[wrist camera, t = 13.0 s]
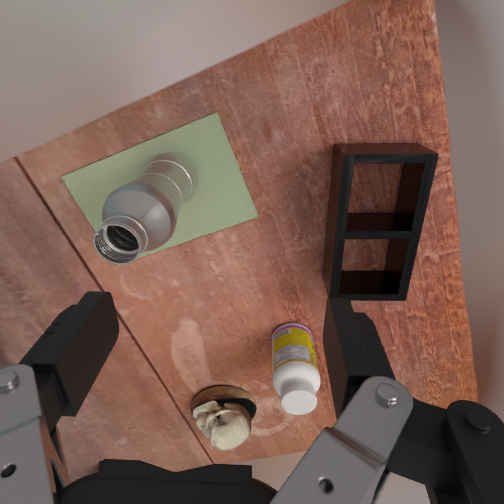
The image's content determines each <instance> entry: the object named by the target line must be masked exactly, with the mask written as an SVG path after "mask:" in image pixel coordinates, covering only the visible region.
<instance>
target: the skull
mask: <svg viewBox="0 0 504 504" xmlns="http://www.w3.org/2000/svg"><path fill="white" fill-rule="evenodd" d="M191 412H192V415H193V417H194V418H195V420H196V424H197V427H198V428H199V429H200V430H201V432H203V433H204V435H205V437H208V438H210V443H211V445H212V446H214V447H215V448H218V449H220V450H231V449H233V448H236V447H237V446H239V445H241V444H242V443H243V442H244V441H245V440H246V439H247V438H248V436H249V434H250V431H251V420H252V419H253V417H254V416H255V413H256V403H255V401H254V399H253V398H252V396H250V395H249V394H248V393H247V392H245V391H243V390H241V389H239V388H235V387H230V386H229V387H228V386H219V387H213V388H209V389H206V390H205V391H202V392H201V393H200V394H198V395H197V396H196V397H195V399H194V400H193V402H192V405H191Z"/></svg>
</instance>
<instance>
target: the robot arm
mask: <svg viewBox="0 0 504 504" xmlns="http://www.w3.org/2000/svg"><path fill="white" fill-rule="evenodd" d="M118 334H119V323H118V319H117V314H116V310H115V306H114V302H113V298H112V295H111V293H110V292H92V291H89V292H87V293H86V294H85V295H84V296H83V297H82V299H81V300H80V301H79V302H78V304H77V305H71V306H70V307H68V308H67V309H65V310H64V311H63V312H61V313H60V314H59V315H58V316H57V317H56V319H55V320H54V321H53V322H52V323H51V326H49V327H48V328H47V330H46V331H45V333H44V334H42V336H41V337H40V338H39V339H38V341H37V342H36V343H35V344H34V345H33V347H32V348H31V349H30V350H29V351H28V353H27V354H26V355H25V356H24V358H23V359H22V360H21V361H20V362H19V364H16V365H11V366H7V367H5V368H2V369H0V504H376V503H377V501H378V499H379V496H380V495H381V492H382V490H383V488H384V486H385V484H386V481H387V480H388V478H389V476H390V474H391V472H392V473H395V474H398V475H400V476H403V477H406V478H408V479H411V480H414V481H416V482H419V483H422V484H424V485H425V487H426V490H427V493H428V497H429V499H430V503H431V504H504V423H503V422H502V420H501V419H500V418H499V417H498V416H497V415H496V414H495V413H493V412H492V411H491V410H489V409H488V408H486V407H485V406H482V405H480V404H478V403H476V402H472V401H467V400H459V401H455V402H453V403H451V404H450V405H449V406H448V408H447V409H444V408H441V407H437V406H434V405H431V404H427V403H424V402H421V401H419V400H417V399H415V398H413V397H412V396H411V394H410V392H409V391H408V390H407V388H406V387H405V386H404V385H402V384H401V383H400V382H398V381H396V379H395V376H394V374H393V371H392V369H391V366H390V363H389V361H388V358H387V356H386V353H385V350H384V348H383V345H382V344H381V340H380V337H379V336H378V332H377V330H376V327H375V324H374V322H373V321H372V320H371V319H370V318H369V317H368V316H367V315H366V314H365V313H359V312H354V311H353V308H352V305H351V302H350V299H349V298H328V299H327V304H326V312H325V320H324V329H323V346H324V352H325V357H326V363H327V368H328V374H329V379H330V385H331V390H332V396H333V401H334V407H335V412H336V418H337V421H336V423H335V424H334V425H333V427H332V428H329V427H325V428H324V429H323V430H322V431H321V432H320V434H319V435H318V436H317V438H316V439H315V441H314V442H313V443H312V445H311V446H310V448H309V449H308V450H307V452H306V453H305V455H304V456H303V458H302V459H301V460H300V462H299V463H298V465H297V466H296V467H295V469H294V470H293V472H292V473H291V474H290V476H289V477H288V478H287V480H286V481H285V483H284V484H283V485H282V487H281V488H280V490H279V491H276V490H275V489H274V488H272V487H271V486H269V485H267V484H266V483H264V482H262V481H260V480H257V479H254V478H252V466H251V465H230V464H212V465H207V466H203V467H198V468H194V469H189V470H185V471H180V472H172V471H169V470H166V469H163V468H160V467H157V466H154V465H152V464H149V463H146V462H143V461H140V460H118V459H104V461H103V463H102V466H101V468H100V470H99V472H96V473H93V474H90V475H87V476H85V477H82V478H80V479H78V480H76V481H74V482H72V483H71V481H70V477H69V474H68V469H67V465H66V460H65V456H64V452H63V447H62V443H61V438H60V434H59V430H58V427H57V425H56V424H57V422H58V421H59V419H60V417H61V416H74V417H75V416H76V415H77V413H78V411H79V409H80V407H81V405H82V403H83V402H84V400H85V398H86V396H87V394H88V392H89V391H90V389H91V387H92V385H93V383H94V381H95V380H96V378H97V376H98V374H99V372H100V370H101V368H102V367H103V365H104V363H105V361H106V359H107V357H108V356H109V354H110V352H111V350H112V348H113V346H114V345H115V343H116V341H117V338H118Z"/></svg>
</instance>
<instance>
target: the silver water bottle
mask: <svg viewBox="0 0 504 504" xmlns="http://www.w3.org/2000/svg"><path fill="white" fill-rule="evenodd" d="M197 187H198V175H197V171H196V168H195V167H194V165H193V164H192V162H191V161H190V160H189V159H187V158H186V157H185V156H183V155H181V154H178V153H172V152H167V153H161V154H158V155H155V156H154V157H152V158H151V159H150V160H148V162H147V163H146V164H145V166H144V168H143V170H142V172H141V175H140V176H139V177H138V178H137V179H135V180H134V181H131V182H129V183H127V184H124V185H122V186H120V187H118V188H117V189H115V190H114V191H113V192H112V193H110V194H109V196H108V197H107V199H106V200H105V203H104V206H103V210H102V222H103V223H102V224H101V226H100V227H99V228H98V229H97V230H96V232H95V234H94V237H93V244H94V247H95V249H96V251H97V253H98V254H99V255H100V256H101V257H102V258H103V259H105V260H107V261H108V262H111V263H114V264H120V265H122V264H128V263H131V262H133V261H134V260H136V259H137V258H138V257H139V256H140V254H141V253H143V252H145V251H151V250H154V249H156V248H158V247H160V246H162V245H164V244H165V243H166V242H168V240H169V239H170V238H171V237H172V235H173V233H174V231H175V228H176V224H177V219H178V213H179V211H180V208H181V207H182V206H183V205H184V204H185V203H187V202H188V201H189V200H190V199H191V198H192V197H193V196H194V195H195V193H196V191H197Z"/></svg>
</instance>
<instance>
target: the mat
mask: <svg viewBox="0 0 504 504" xmlns="http://www.w3.org/2000/svg"><path fill="white" fill-rule="evenodd" d="M167 152H172V153H178V154H181V155H183V156H185V157H186V158H187V159H189V160H190V161H191V162H192V164H193V165H194V167H195V168H196V171H197V175H198V187H197V191H196V193H195V195H194V196H193V197H192V198H191V199H190V200H189V201H188V202H187V203H185V204H184V205H183V206H182V207H181V208H180V211H179V213H178V219H177V224H176V228H175V231H174V233H173V235H172V237H171V238H170V239H169V240H168V242H166V243H165V244H164V245H162V246H160V247H158V248H156V249H154V250H151V251H145V252H143V253H141V254H140V256H139V257H138V258H140V257H143V256H146V255H149V254H152V253H155V252H158V251H160V250H163V249H166V248H169V247H172V246H175V245H178V244H181V243H184V242H187V241H190V240H192V239H195V238H198V237H201V236H204V235H207V234H210V233H213V232H216V231H219V230H222V229H224V228H227V227H230V226H233V225H236V224H239V223H242V222H245V221H248V220H251V219H254V218H256V217H258V213H257V210H256V208H255V205H254V203H253V200H252V198H251V195H250V193H249V190H248V188H247V185H246V183H245V180H244V178H243V175H242V173H241V170H240V168H239V165H238V163H237V160H236V158H235V155H234V153H233V150H232V148H231V145H230V143H229V140H228V138H227V135H226V133H225V130H224V128H223V125H222V123H221V120H220V118H219V115H218V113H217V112H215V113H213V114H210V115H208V116H205V117H203V118H201V119H198V120H196V121H193V122H191V123H189V124H186V125H184V126H181V127H179V128H177V129H174V130H172V131H169V132H167V133H165V134H162V135H160V136H157V137H155V138H153V139H150V140H148V141H145V142H143V143H140V144H138V145H136V146H133V147H131V148H128V149H126V150H124V151H121V152H119V153H116V154H114V155H112V156H109V157H107V158H104V159H102V160H100V161H97V162H95V163H92V164H90V165H88V166H85V167H83V168H80V169H78V170H75V171H73V172H71V173H68V174H66V175H63V176H61V178H62V180H63V181H64V183H65V185H66V186H67V188H68V189H69V191H70V192H71V194H72V196H73V197H74V199H75V200H76V202H77V203H78V205H79V207H80V208H81V210H82V211H83V213H84V214H85V216H86V218H87V219H88V221H89V222H90V224H91V225H92V227H93V228H94V230H95V232H96V230H97V229H98V228H99V227H100V226H101V224H102V223H103V222H102V210H103V206H104V203H105V200H106V199H107V197H108V196H109V194H110V193H112V192H113V191H114V190H115V189H117V188H118V187H120V186H122V185H124V184H127V183H129V182H131V181H134V180H135V179H137V178H138V177H139V176H140V175H141V172H142V170H143V168H144V166H145V164H146V163H147V162H148V160H150V159H151V158H152V157H154V156H155V155H158V154H161V153H167ZM116 265H120V264H116Z"/></svg>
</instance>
